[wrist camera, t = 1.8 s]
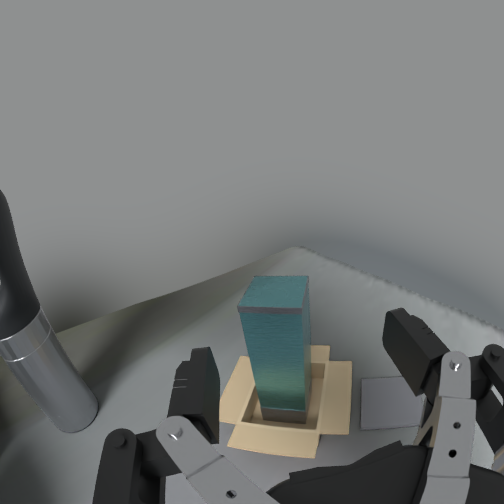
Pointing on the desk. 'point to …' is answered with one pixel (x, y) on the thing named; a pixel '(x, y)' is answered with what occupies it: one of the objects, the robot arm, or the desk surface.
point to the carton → (289, 434)
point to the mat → (388, 404)
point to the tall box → (279, 345)
